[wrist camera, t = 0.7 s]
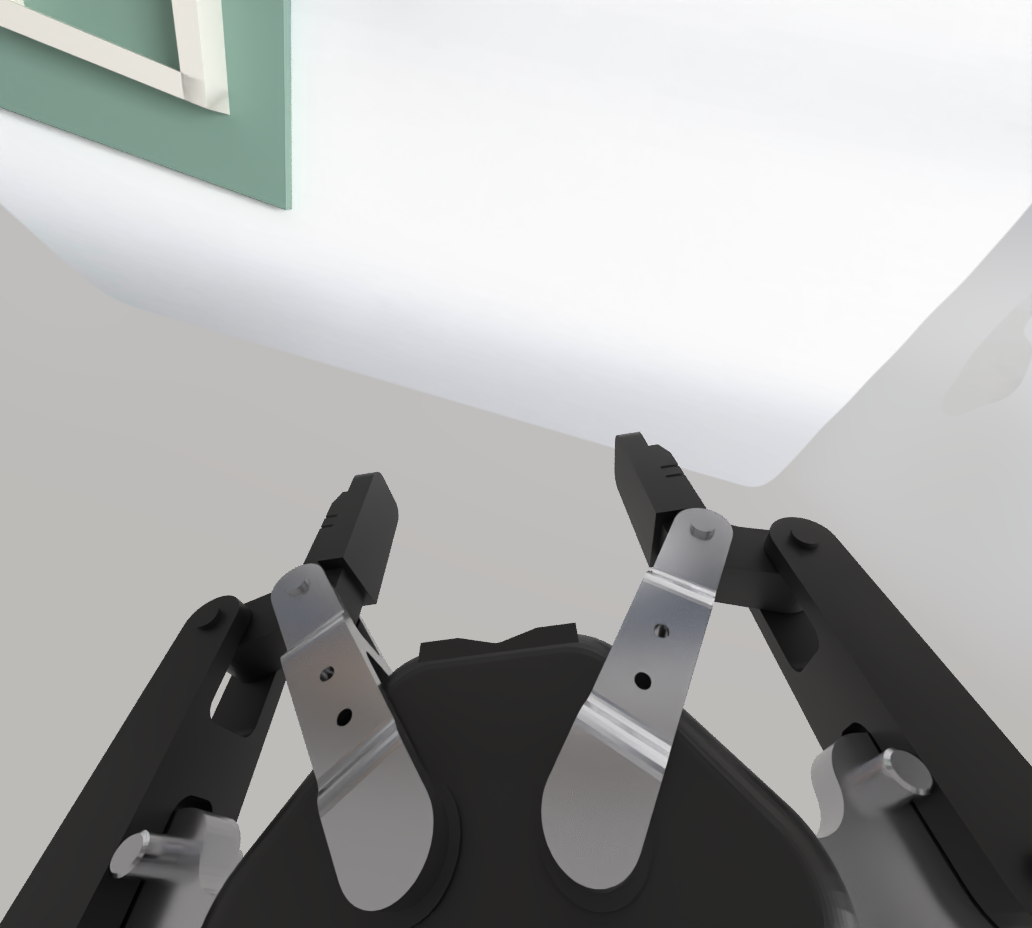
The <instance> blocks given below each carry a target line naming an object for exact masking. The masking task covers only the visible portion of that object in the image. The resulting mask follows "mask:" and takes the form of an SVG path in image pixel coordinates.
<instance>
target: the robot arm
mask: <svg viewBox="0 0 1032 928" xmlns="http://www.w3.org/2000/svg"><path fill="white" fill-rule="evenodd" d="M615 480H616V484H617V488H618V491H619V493H620V496H621V498H622V500H623V503H624V505H625V508H626V510H627V513H628V515H629V518H630V520H631V523H632V525H633V528H634V530H635V532H636V535H637V538H638V540H639V543H640V545H641V548H642V550H643V553H644V555H645V558H646V560H647V562H648V565H649V567H653V568H652V570H651V572H650V571H647V573H646V574H645V576H644V578H643V580H642V582H641V584H640V586H639V589H638V591H637V593H636V595H635V598H634V600H633V602H632V604H631V606H630V608H629V611H628V613H627V615H626V617H625V619H624V621H623V624H622V626H621V629H620V630H619V633H618V635H617V637H616V639H615V641H614V644H613V646H611V645H610V644H608V643H606V642H604V641H601V640H599V639H596V638H593V637H589V636H586V635H579V634H577V629H576V624H575V623H570V624H563V625H554V626H547V627H539V628H535V629H533V630H530V631H528V632H525V633H523V634H520V635H518V636H515V637H513V638H510V639H508V640H505V641H503V642H500V643H489V642H481V641H474V640H468V639H460V638H455V639H448V640H440V641H433V642H425V643H421V646H420V653H419V656H418V657H416V658H414V659H412V660H410V661H408V662H406V663H405V664H404V665H402V666H401V667H399V668H398V669H396V670H395V671H394V672H392V670H391V669H390V667H389V666H388V664H387V663H386V661H385V659H384V658H383V656H382V654H381V652H380V650H379V649H378V647H377V645H376V643H375V641H374V639H373V638H372V636H371V634H370V632H369V630H368V629H367V627H366V625H365V623H364V621H363V619H362V618H361V617H360V616H359V615H360V612H361V608H362V606H365V605H372V604H376V603H377V599H378V595H379V592H380V588H381V584H382V580H383V576H384V572H385V569H386V565H387V561H388V557H389V553H390V549H391V546H392V542H393V538H394V534H395V530H396V527H397V522H398V508H397V504H396V502H395V500H394V498H393V496H392V494H391V492H390V490H389V488H388V486H387V484H386V482H385V480H384V478H383V476H382V475H381V473H379V472H374V473H368V474H361V475H356V476H355V477H354V478H353V481H352V483H351V485H350V488H349V490H348V491H347V492H343V493H342V494H341V495H340V496H339V497H338V498H337V499H336V500H335V501H334V502H333V503H332V505H331V507H330V509H329V511H328V513H327V515H326V519H324V522H323V524H322V526H321V527H322V528H321V529H320V530H319V532H318V534H317V536H316V539H315V540H314V543H313V545H312V547H311V549H310V551H309V553H308V555H307V558H306V560H305V562H304V564H303V565H301V566H298V567H296V568H295V569H292V570H291V571H289V572H288V573H286V574H285V575H284V576H283V577H282V578H281V579H280V580H279V581H278V582H277V583H276V585H275V586H274V589H273V591H272V593H270V594H267V595H265V596H262V597H260V598H257V599H255V600H252V601H250V602H248V603H245V604H243V603H242V602H241V601H239V600H238V599H237V598H236V597H234V596H222V597H219V598H216V599H214V600H212V601H210V602H208V603H207V604H205V605H203V606H202V607H201V608H199V609H198V610H197V611H196V612H195V613H194V614H193V615H192V616H191V617H190V618H189V619H188V620H187V622H186V623H185V625H184V627H183V628H182V630H181V631H180V633H179V634H178V636H177V638H176V640H175V641H174V642H173V644H172V646H171V647H170V649H169V651H168V652H167V654H166V655H165V657H164V659H163V660H162V662H161V664H160V665H159V667H158V668H157V670H156V672H155V673H154V675H153V677H152V678H151V680H150V682H149V683H148V685H147V686H146V688H145V690H144V691H143V693H142V694H141V696H140V698H139V699H138V701H137V703H136V704H135V706H134V707H133V709H132V711H131V712H130V714H129V716H128V717H127V719H126V721H125V722H124V724H123V725H122V727H121V729H120V730H119V732H118V733H117V735H116V737H115V739H114V740H113V741H112V743H111V745H110V746H109V748H108V750H107V752H106V753H105V754H104V756H103V758H102V760H101V761H100V763H99V764H98V766H97V768H96V769H95V771H94V772H93V774H92V776H91V777H90V779H89V780H88V782H87V784H86V785H85V787H84V789H83V790H82V792H81V794H80V795H79V797H78V798H77V800H76V801H75V803H74V805H73V806H72V808H71V810H70V811H69V813H68V814H67V816H66V818H65V819H64V821H63V823H62V824H61V826H60V828H59V829H58V831H57V832H56V834H55V836H54V837H53V839H52V841H51V842H50V844H49V846H48V847H47V849H46V850H45V852H44V853H43V855H42V857H41V858H40V860H39V862H38V863H37V865H36V866H35V868H34V870H33V871H32V873H31V875H30V876H29V878H28V879H27V881H26V883H25V884H24V886H23V888H22V889H21V891H20V892H19V894H18V896H17V897H16V899H15V900H14V902H13V904H12V906H11V907H10V909H9V910H8V912H7V913H6V915H5V917H4V918H3V920H2V922H1V923H0V928H1032V766H1031V765H1030V764H1029V763H1028V762H1027V761H1026V759H1024V757H1023V756H1022V755H1021V754H1020V753H1019V751H1018V750H1017V749H1016V748H1015V747H1014V745H1013V744H1012V743H1011V742H1010V741H1009V739H1008V738H1007V737H1006V736H1005V735H1004V734H1003V732H1002V731H1001V730H1000V729H999V728H998V727H997V725H996V724H995V723H994V722H993V721H992V720H991V718H990V717H989V716H988V715H987V714H986V712H985V711H984V710H983V709H982V708H981V707H980V705H979V704H978V703H977V702H976V701H975V700H974V698H973V697H972V696H971V695H970V694H969V693H968V691H967V690H966V689H965V688H964V687H963V686H962V684H961V683H960V682H959V681H958V680H957V678H956V677H955V676H954V675H953V674H952V673H951V671H950V670H949V669H948V668H947V667H946V666H945V664H944V663H943V662H942V661H941V660H940V659H939V658H938V656H937V655H936V654H935V653H934V652H933V650H932V649H931V648H930V647H929V646H928V644H927V643H926V642H925V641H924V640H923V639H922V637H921V636H920V635H919V634H918V633H917V632H916V630H915V629H914V628H913V627H912V626H911V625H910V623H909V622H908V621H907V620H906V619H905V618H904V616H903V615H902V614H901V613H900V612H899V610H898V609H897V608H896V607H895V606H894V605H893V604H892V602H891V601H890V600H889V599H888V598H887V597H886V595H885V594H884V593H883V592H882V591H881V589H880V588H879V587H878V586H877V585H876V584H875V582H874V581H873V580H872V579H871V578H870V577H869V575H868V574H867V573H866V572H865V571H864V569H863V568H861V566H860V565H859V564H858V562H857V561H856V560H855V559H854V558H853V557H852V556H851V554H850V553H849V552H848V551H847V550H846V548H845V547H844V546H843V545H842V544H841V543H840V541H839V540H838V539H837V538H836V537H835V536H834V535H833V534H832V533H831V532H830V531H829V530H828V529H826V528H825V527H823V526H822V525H820V524H818V523H816V522H813V521H810V520H807V519H803V518H796V517H787V518H782V519H779V520H777V521H775V522H774V523H773V524H772V526H771V528H770V530H762V529H752V528H744V527H737V526H733V525H730V523H729V522H728V521H727V520H726V519H725V518H724V517H723V516H721V515H720V514H718V513H716V512H714V511H711V510H708V509H706V507H705V506H704V504H703V503H702V501H701V499H700V498H699V496H698V495H697V493H696V492H695V490H694V489H693V487H692V485H691V484H690V482H689V481H688V479H687V478H686V476H685V475H684V473H683V471H682V470H681V468H680V467H679V466H678V464H677V462H676V460H675V459H674V457H673V456H672V454H671V453H670V452H669V451H667V450H666V449H664V448H663V447H661V446H660V445H651V446H648V445H647V443H646V441H645V439H644V438H643V436H642V434H641V433H640V432H635V433H629V434H622V435H617V436H616V438H615ZM714 602H720V603H726V604H732V605H738V606H744V607H749V609H750V611H751V612H752V614H753V617H754V619H755V621H756V622H757V624H758V626H759V628H760V630H761V632H762V634H763V636H764V638H765V640H766V642H767V644H768V645H769V647H770V649H771V651H772V653H773V655H774V657H775V659H776V661H777V663H778V665H779V667H780V669H781V670H782V672H783V674H784V676H785V678H786V680H787V682H788V684H789V686H790V688H791V690H792V692H793V694H794V695H795V697H796V699H797V701H798V703H799V705H800V707H801V709H802V711H803V713H804V715H805V716H806V718H807V720H808V722H809V724H810V726H811V728H812V730H813V732H814V734H815V735H816V738H817V739H818V742H819V743H820V745H821V747H822V749H823V752H822V753H820V754H819V755H818V756H817V757H816V759H815V760H814V762H813V764H812V769H811V778H812V784H813V787H814V790H815V793H816V796H817V799H818V802H819V806H820V811H821V824H820V829H819V832H818V834H817V835H815V834H814V833H813V831H812V830H811V829H810V828H809V827H808V825H807V824H806V823H805V822H804V821H803V819H802V818H801V817H800V816H799V815H798V814H797V813H796V812H795V811H794V810H793V809H792V808H791V807H790V806H789V805H788V804H787V803H786V802H785V801H783V800H782V799H781V798H780V797H779V796H778V795H777V794H775V792H774V791H773V790H771V789H770V788H769V787H768V786H767V785H766V784H765V783H764V782H763V781H762V780H760V778H758V777H757V776H756V775H755V774H754V773H753V772H752V771H751V770H750V769H749V768H747V767H746V766H745V765H744V764H743V763H742V762H741V761H740V760H739V759H738V758H737V757H736V756H734V755H733V754H732V753H731V752H730V751H729V750H728V749H727V748H726V747H725V746H723V744H721V743H720V742H719V741H718V740H717V739H716V738H715V737H714V736H713V735H711V734H710V733H709V732H708V731H707V730H706V729H705V728H704V727H703V726H702V725H701V724H700V723H698V722H697V721H696V720H695V719H694V718H693V717H692V716H691V715H690V714H689V713H688V712H686V710H684V709H683V706H684V702H685V699H686V696H687V692H688V689H689V685H690V682H691V679H692V675H693V671H694V668H695V665H696V661H697V658H698V654H699V651H700V648H701V644H702V641H703V638H704V634H705V631H706V627H707V624H708V621H709V617H710V613H711V610H712V607H713V604H714ZM226 671H227V672H228V673H230V674H231V675H232V676H231V678H230V680H229V682H228V685H227V687H226V689H225V691H224V693H223V695H222V698H221V700H220V702H219V704H218V706H217V708H216V711H215V713H214V715H213V717H212V719H211V717H210V707H211V703H212V701H213V698H214V696H215V694H216V692H217V690H218V688H219V686H220V684H221V682H222V679H223V677H224V675H225V673H226ZM285 681H287V684H288V688H289V691H290V694H291V697H292V701H293V704H294V707H295V711H296V714H297V717H298V720H299V724H300V727H301V730H302V734H303V737H304V740H305V744H306V747H307V750H308V753H309V756H310V760H311V763H312V766H313V770H312V771H311V773H310V774H309V775H308V776H307V778H306V779H305V780H304V781H303V783H302V784H301V785H300V786H299V788H298V789H297V790H296V791H295V793H294V794H293V795H292V797H291V798H290V799H289V800H288V802H287V803H286V804H285V805H284V807H283V808H282V809H281V810H280V812H279V813H278V814H277V815H276V817H275V818H274V819H273V821H272V822H271V823H270V824H269V826H268V827H267V828H266V829H265V831H264V832H263V833H262V834H261V836H260V837H259V838H258V839H257V841H256V842H255V843H254V844H253V846H252V847H251V848H250V850H249V851H248V852H247V853H246V855H245V856H244V857H243V854H242V851H241V850H239V847H240V830H239V826H238V824H237V823H236V822H237V819H238V816H239V813H240V810H241V807H242V805H243V802H244V799H245V796H246V793H247V790H248V787H249V784H250V781H251V778H252V775H253V773H254V770H255V767H256V764H257V761H258V759H259V756H260V753H261V750H262V747H263V744H264V741H265V738H266V735H267V733H268V730H269V727H270V724H271V721H272V718H273V715H274V712H275V709H276V706H277V704H278V701H279V698H280V695H281V692H282V689H283V686H284V683H285Z"/></svg>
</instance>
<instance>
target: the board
mask: <svg viewBox="0 0 1032 928" xmlns="http://www.w3.org/2000/svg"><path fill="white" fill-rule="evenodd" d="M0 107H1V108H4V109H7V110H10V111H12V112H15V113H18V114H21V115H24V116H26V117H29V118H32V119H35V120H37V121H40V122H43V123H46V124H49V125H51V126H54V127H57V128H60V129H63V130H65V131H68V132H71V133H74V134H76V135H79V136H82V137H85V138H88V139H90V140H93V141H96V142H99V143H101V144H104V145H107V146H110V147H113V148H115V149H118V150H121V151H124V152H127V153H129V154H132V155H135V156H138V157H140V158H143V159H146V160H149V161H152V162H154V163H157V164H160V165H163V166H165V167H168V168H171V169H174V170H177V171H179V172H182V173H185V174H188V175H191V176H193V177H196V178H199V179H202V180H204V181H207V182H210V183H213V184H216V185H218V186H221V187H224V188H227V189H229V190H232V191H235V192H238V193H241V194H243V195H246V196H249V197H252V198H254V199H257V200H260V201H263V202H266V203H268V204H271V205H274V206H277V207H280V208H282V209H285V210H288V209H292V195H291V0H0Z"/></svg>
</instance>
